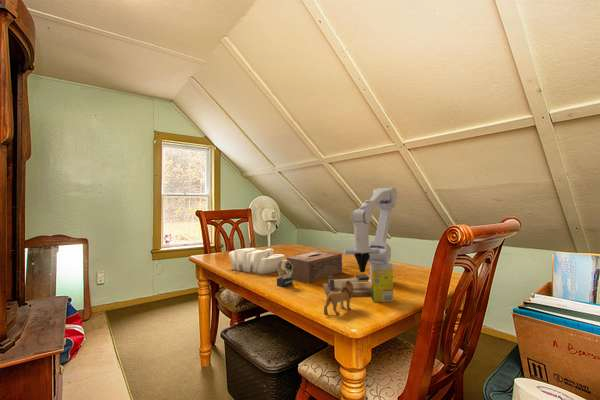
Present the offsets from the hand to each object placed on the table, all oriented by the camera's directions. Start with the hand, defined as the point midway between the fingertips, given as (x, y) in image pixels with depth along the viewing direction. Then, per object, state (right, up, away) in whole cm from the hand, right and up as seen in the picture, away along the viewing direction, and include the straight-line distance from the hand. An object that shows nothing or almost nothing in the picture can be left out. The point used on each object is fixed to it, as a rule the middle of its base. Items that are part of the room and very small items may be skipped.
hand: (362, 271), depth 115 cm
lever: (-6, -6, 0) cm, 9 cm away
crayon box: (+5, -8, -11) cm, 15 cm away
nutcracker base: (-6, -8, 0) cm, 10 cm away
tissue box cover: (-18, -9, +26) cm, 33 cm away
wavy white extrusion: (-51, -9, +41) cm, 66 cm away
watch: (-32, -9, +10) cm, 35 cm away
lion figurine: (-12, -8, -19) cm, 24 cm away
